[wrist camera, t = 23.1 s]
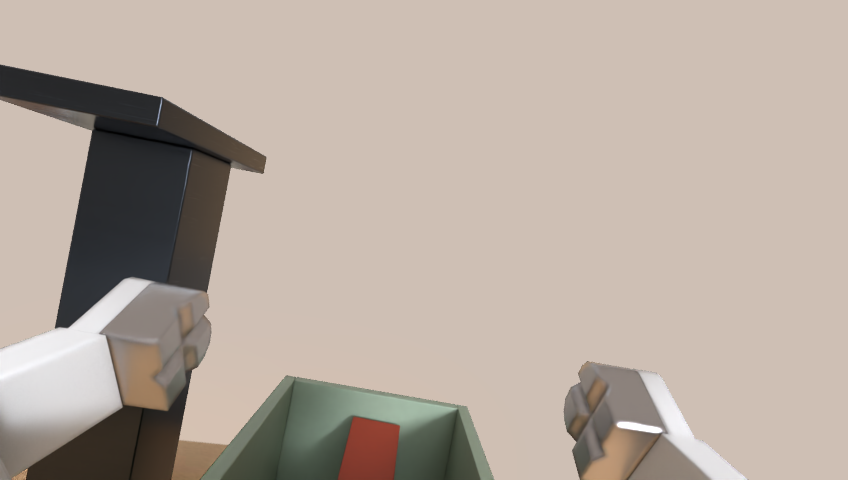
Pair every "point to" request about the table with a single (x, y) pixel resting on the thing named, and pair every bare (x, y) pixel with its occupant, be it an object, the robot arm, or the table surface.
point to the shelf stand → (132, 239)
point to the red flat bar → (370, 451)
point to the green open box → (329, 428)
